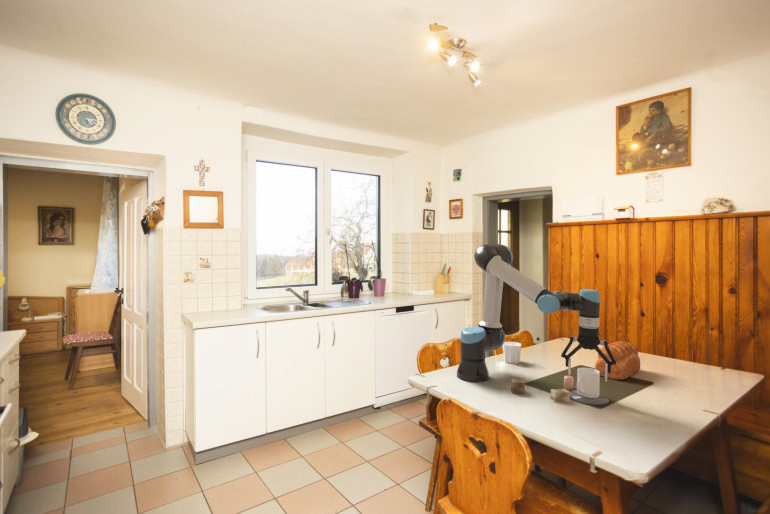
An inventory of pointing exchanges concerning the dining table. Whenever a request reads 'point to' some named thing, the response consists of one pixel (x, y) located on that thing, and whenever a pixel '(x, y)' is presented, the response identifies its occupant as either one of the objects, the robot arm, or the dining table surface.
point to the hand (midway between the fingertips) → (587, 377)
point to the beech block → (560, 395)
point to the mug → (588, 382)
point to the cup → (511, 352)
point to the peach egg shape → (569, 382)
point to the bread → (620, 360)
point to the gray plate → (589, 399)
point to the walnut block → (517, 386)
